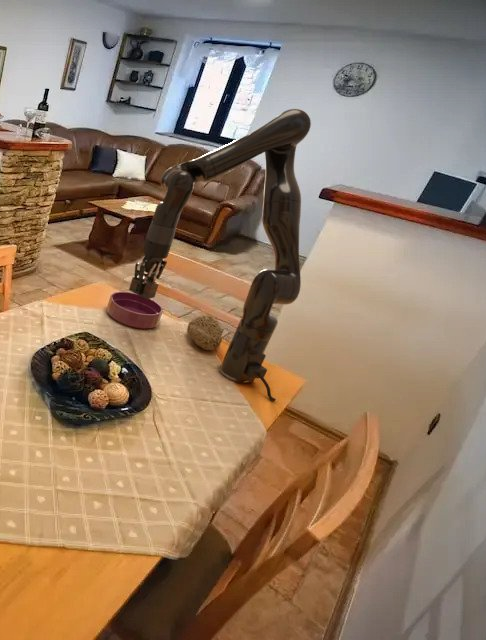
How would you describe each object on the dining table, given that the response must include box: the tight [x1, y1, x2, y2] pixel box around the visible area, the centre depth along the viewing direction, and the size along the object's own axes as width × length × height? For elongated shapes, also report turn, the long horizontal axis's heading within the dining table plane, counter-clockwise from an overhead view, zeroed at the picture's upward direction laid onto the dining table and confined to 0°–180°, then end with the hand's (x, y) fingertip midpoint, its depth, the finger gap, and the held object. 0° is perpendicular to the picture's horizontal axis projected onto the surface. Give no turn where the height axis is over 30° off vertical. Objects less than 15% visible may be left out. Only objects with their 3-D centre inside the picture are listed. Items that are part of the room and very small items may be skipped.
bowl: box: [106, 291, 164, 329], centre depth 173 cm, size 18×18×6 cm
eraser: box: [128, 276, 159, 299], centre depth 153 cm, size 7×4×4 cm, turn 43°
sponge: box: [186, 314, 225, 351], centre depth 166 cm, size 13×8×20 cm
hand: (142, 292), depth 154 cm, fingers closed on eraser, 4 cm apart
